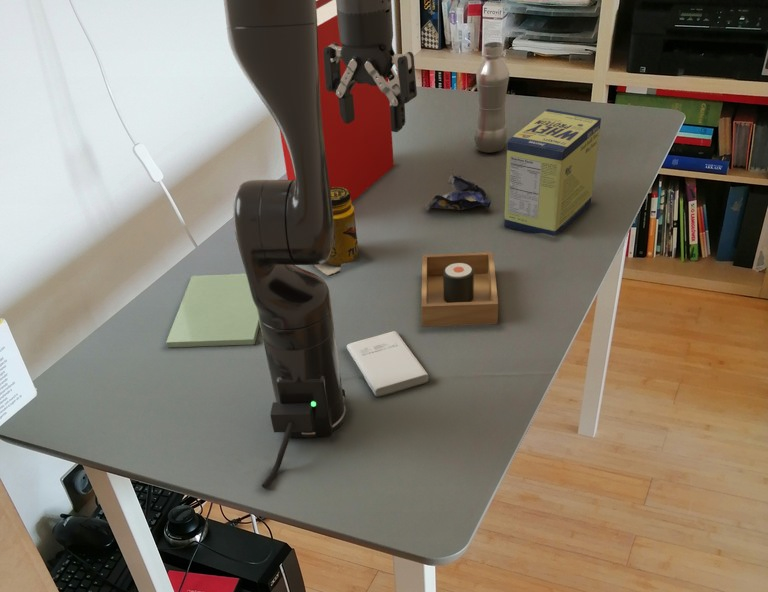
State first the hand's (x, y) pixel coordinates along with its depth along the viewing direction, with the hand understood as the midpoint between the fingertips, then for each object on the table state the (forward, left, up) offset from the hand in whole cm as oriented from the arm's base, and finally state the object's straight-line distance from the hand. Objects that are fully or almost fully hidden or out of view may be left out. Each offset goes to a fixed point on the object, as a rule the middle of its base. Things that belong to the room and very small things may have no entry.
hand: (373, 126), depth 122 cm
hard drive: (-27, -2, -25) cm, 37 cm away
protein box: (+18, -30, -25) cm, 42 cm away
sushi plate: (-10, +26, -25) cm, 37 cm away
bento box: (-10, -13, -25) cm, 29 cm away
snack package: (+23, -14, -25) cm, 36 cm away
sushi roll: (-10, -13, -24) cm, 29 cm away
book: (+32, +9, -25) cm, 42 cm away
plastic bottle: (+48, -21, -25) cm, 58 cm away
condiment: (+5, +8, -25) cm, 27 cm away
